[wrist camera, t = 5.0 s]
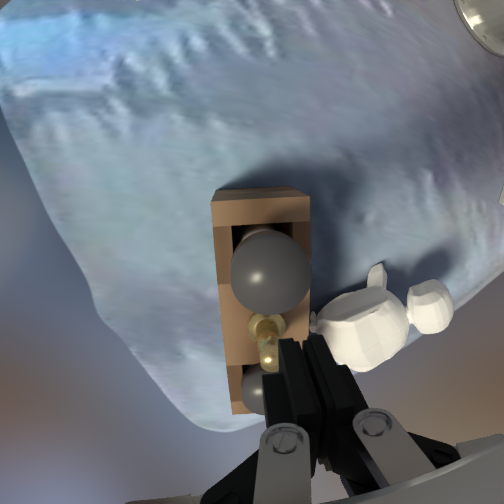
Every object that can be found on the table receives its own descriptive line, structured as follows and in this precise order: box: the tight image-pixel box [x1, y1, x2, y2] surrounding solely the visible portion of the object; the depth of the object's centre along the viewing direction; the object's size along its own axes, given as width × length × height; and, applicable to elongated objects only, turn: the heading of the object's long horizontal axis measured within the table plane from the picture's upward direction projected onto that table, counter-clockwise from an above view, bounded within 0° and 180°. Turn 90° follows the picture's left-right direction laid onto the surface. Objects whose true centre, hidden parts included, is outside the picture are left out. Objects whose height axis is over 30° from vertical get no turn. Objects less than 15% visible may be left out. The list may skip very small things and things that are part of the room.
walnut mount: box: [211, 186, 310, 415], centre depth 29 cm, size 7×20×8 cm, turn 3°
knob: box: [230, 223, 312, 315], centre depth 23 cm, size 5×5×9 cm
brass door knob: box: [247, 313, 286, 372], centre depth 23 cm, size 3×3×5 cm
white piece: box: [309, 263, 454, 372], centre depth 31 cm, size 8×8×15 cm
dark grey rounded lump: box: [241, 363, 279, 415], centre depth 29 cm, size 5×5×9 cm
